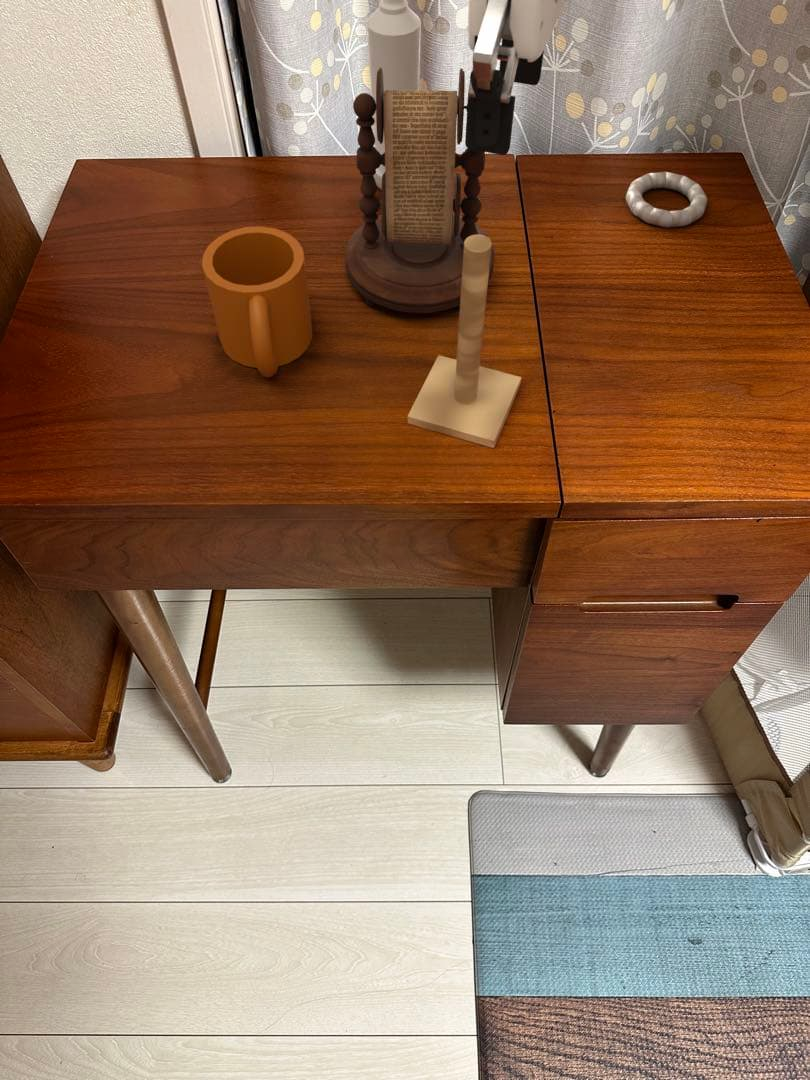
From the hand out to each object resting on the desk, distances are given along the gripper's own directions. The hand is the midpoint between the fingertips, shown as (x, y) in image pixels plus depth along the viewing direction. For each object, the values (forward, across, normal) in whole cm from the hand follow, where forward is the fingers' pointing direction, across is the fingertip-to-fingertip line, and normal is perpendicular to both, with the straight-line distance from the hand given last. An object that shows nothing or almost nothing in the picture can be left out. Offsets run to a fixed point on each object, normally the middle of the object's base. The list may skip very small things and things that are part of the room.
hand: (503, 114), depth 61 cm
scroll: (+21, +5, +8) cm, 23 cm away
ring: (+20, +24, -14) cm, 34 cm away
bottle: (+21, +19, +15) cm, 32 cm away
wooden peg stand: (+21, -10, -1) cm, 23 cm away
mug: (+21, -9, +19) cm, 30 cm away
